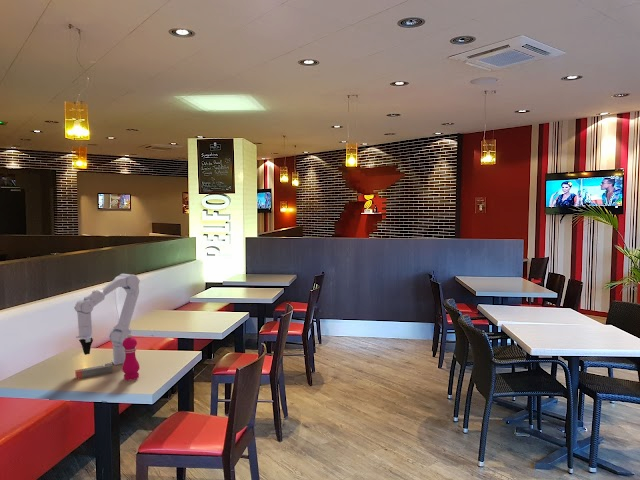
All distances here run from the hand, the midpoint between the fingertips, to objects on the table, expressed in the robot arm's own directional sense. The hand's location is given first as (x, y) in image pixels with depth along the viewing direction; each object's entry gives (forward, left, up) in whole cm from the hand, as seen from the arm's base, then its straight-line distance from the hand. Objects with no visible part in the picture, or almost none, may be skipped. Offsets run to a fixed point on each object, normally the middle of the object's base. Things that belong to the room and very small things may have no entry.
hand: (86, 354), depth 231 cm
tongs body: (-2, +6, -8) cm, 11 cm away
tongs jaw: (0, +5, -8) cm, 10 cm away
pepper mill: (-15, +21, -9) cm, 28 cm away
